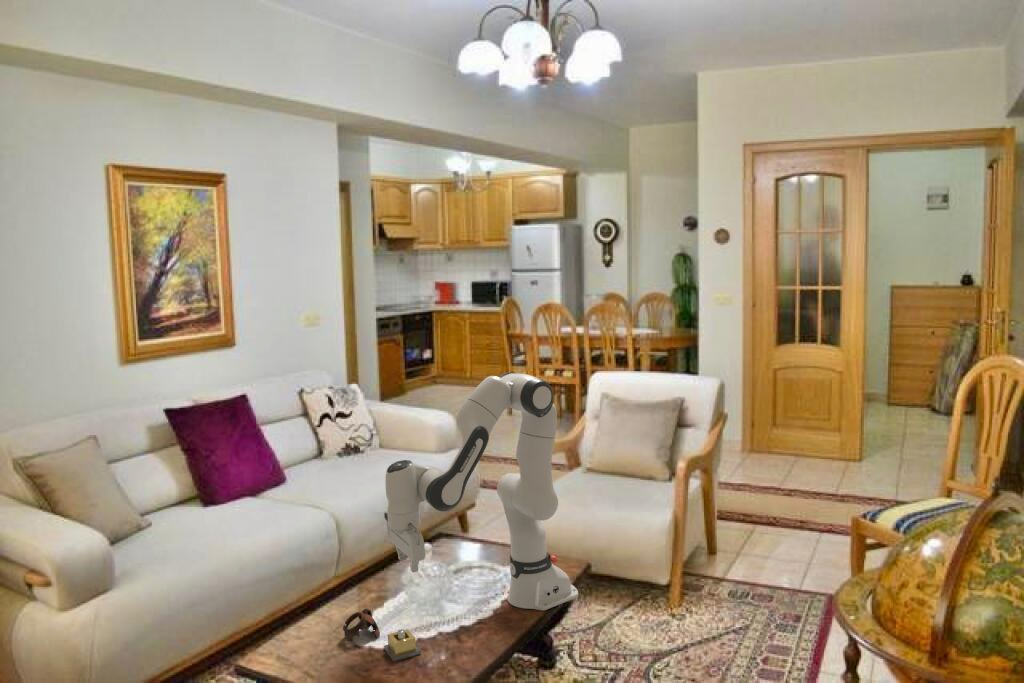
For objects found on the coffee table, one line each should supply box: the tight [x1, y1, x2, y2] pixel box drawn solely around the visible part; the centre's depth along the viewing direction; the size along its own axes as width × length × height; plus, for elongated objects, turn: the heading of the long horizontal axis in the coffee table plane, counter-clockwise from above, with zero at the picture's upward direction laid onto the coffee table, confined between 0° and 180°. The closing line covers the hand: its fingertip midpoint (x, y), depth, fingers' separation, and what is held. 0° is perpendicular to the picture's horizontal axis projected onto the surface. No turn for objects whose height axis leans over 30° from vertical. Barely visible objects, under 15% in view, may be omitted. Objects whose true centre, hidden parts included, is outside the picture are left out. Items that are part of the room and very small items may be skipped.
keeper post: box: [383, 628, 422, 663], centre depth 228 cm, size 8×8×6 cm
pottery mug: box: [342, 608, 381, 639], centre depth 238 cm, size 12×10×8 cm
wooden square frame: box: [387, 628, 417, 656], centre depth 228 cm, size 6×6×4 cm
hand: (408, 565), depth 232 cm, fingers open, 8 cm apart
